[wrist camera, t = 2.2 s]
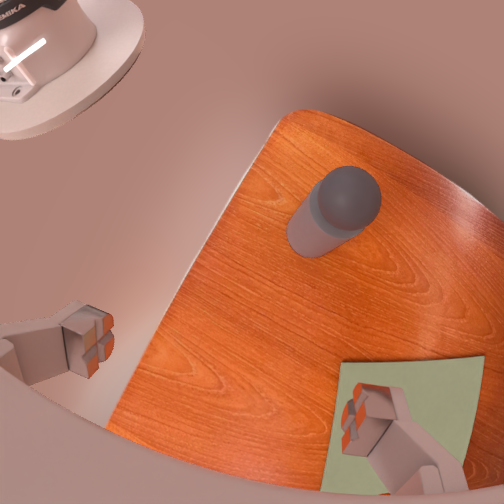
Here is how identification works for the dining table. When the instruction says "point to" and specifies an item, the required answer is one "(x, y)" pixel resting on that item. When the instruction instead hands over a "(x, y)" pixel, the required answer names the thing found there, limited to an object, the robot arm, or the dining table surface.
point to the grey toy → (334, 212)
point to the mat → (420, 406)
